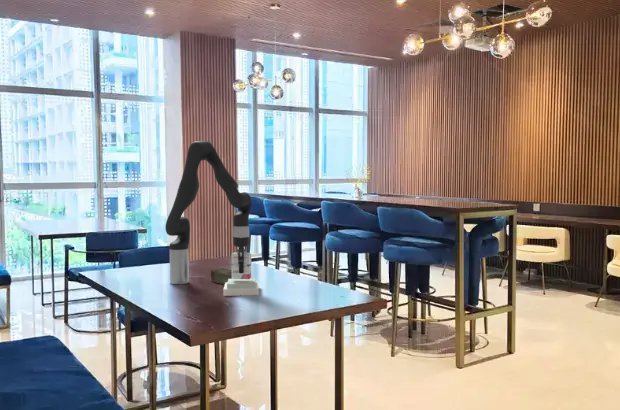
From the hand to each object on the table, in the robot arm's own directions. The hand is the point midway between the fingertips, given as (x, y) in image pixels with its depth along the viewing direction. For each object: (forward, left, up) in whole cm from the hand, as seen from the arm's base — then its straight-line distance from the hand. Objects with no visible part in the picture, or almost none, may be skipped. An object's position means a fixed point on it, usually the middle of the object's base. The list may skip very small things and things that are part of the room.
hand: (241, 271), depth 260 cm
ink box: (0, 0, -3) cm, 3 cm away
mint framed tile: (0, 0, -9) cm, 9 cm away
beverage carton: (-22, -8, -10) cm, 25 cm away
